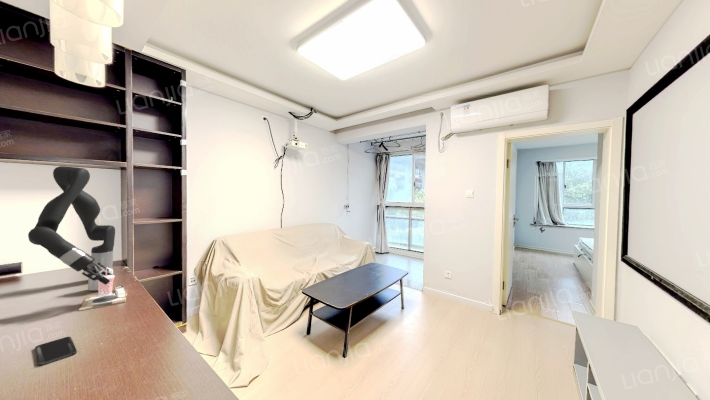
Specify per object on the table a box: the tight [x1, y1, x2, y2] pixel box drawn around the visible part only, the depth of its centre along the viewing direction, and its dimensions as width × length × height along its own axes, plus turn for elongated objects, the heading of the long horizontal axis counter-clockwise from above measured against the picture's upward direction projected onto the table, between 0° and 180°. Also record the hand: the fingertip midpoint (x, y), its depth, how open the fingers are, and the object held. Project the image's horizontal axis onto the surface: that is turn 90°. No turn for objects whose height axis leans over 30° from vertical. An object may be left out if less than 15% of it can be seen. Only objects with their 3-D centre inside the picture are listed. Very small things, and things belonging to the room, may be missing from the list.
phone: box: [34, 336, 77, 367], centre depth 80 cm, size 8×1×15 cm
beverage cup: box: [97, 267, 116, 297], centre depth 119 cm, size 6×6×14 cm
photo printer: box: [87, 267, 114, 291], centre depth 132 cm, size 10×4×12 cm, turn 98°
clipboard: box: [78, 290, 129, 312], centre depth 119 cm, size 18×15×1 cm
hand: (110, 280), depth 120 cm, fingers closed on beverage cup, 6 cm apart
